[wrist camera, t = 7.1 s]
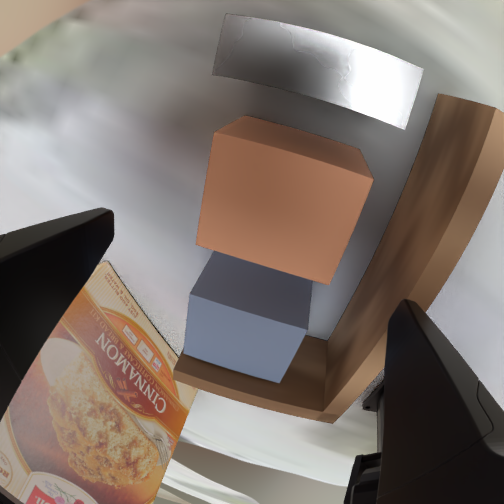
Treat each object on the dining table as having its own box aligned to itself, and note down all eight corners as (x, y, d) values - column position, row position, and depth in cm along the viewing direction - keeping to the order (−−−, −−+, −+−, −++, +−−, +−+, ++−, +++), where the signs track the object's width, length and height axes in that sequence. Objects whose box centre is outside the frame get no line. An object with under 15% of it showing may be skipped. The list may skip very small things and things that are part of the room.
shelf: (336, 354, 22) (332, 423, 17) (202, 316, 23) (172, 379, 18) (457, 103, 12) (519, 124, 7) (259, 34, 13) (223, 12, 8)
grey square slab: (376, 111, 13) (404, 130, 9) (248, 74, 14) (211, 74, 9) (388, 71, 12) (423, 69, 7) (258, 33, 12) (225, 13, 8)
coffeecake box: (203, 384, 28) (132, 567, 12) (150, 385, 31) (78, 537, 15) (109, 256, 22) (-55, 471, 6) (62, 275, 25) (-68, 438, 8)
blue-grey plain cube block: (289, 326, 22) (279, 383, 18) (208, 301, 22) (183, 353, 18) (313, 271, 19) (307, 329, 15) (218, 242, 19) (189, 293, 15)
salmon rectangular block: (329, 231, 17) (329, 285, 13) (227, 200, 18) (195, 244, 14) (359, 148, 15) (374, 179, 11) (245, 115, 15) (214, 132, 11)
